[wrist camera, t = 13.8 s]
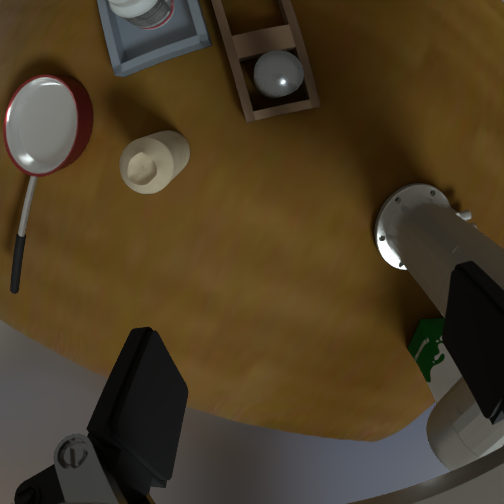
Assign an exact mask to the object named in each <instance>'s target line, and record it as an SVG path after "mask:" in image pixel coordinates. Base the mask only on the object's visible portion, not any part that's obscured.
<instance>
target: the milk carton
mask: <svg viewBox="0 0 504 504" xmlns="http://www.w3.org/2000/svg"><path fill="white" fill-rule="evenodd" d="M444 320H445V319H444V318H439V319H421V320H420V322H419V325H418V327H417V329H416V331H415V334H414V336H413V338H412V340H411V342H410V344H409V347H408V351H409V352H410V354H411V355H412V357H413V358H414V360H415V361H416V363H417V364H418V366H419V368H420V370H421V372H422V374H423V376H424V378H425V380H426V382H427V384H428V386H429V388H430V390H431V392H432V394H433V396H434V399H435V401H436V404H437V403H438V402H439V401H440V399H441V398H442V397H443V396H444V395H445V394H446V393H447V392H448V391H449V390H450V388H451V387H452V386H453V385H454V384H455V383H456V382H457V381H458V380H459V379H460V377H461V376H462V375H461V373H460V371H459V369H458V368H457V366H456V364H455V363H454V361H453V359H452V357H451V356H450V354H449V352H448V351H447V349H446V347H445V346H444V344H443V341H442V332H443V326H444Z"/></svg>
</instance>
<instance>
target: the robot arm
mask: <svg viewBox="0 0 504 504" xmlns="http://www.w3.org/2000/svg"><path fill="white" fill-rule="evenodd" d="M396 198H397V199H396ZM395 199H396V200H395ZM469 219H471V212H470V211H469V210H464V211H461V212H457V211H455V210H454V209H452V208H451V206H450V203H449V201H448V200H447V198H446V197H445V195H444V194H443V193H442V192H441V191H439V190H438V189H437V188H435V187H433V186H431V185H428V184H424V183H414V184H408V185H406V186H404V187H401V188H400V189H398V190H397V191H395V192H394V193H393V194H392V195H391V196H390V197H389V198H388V199H387V200H386V201H385V203H384V204H383V205H382V207H381V209H380V211H379V213H378V216H377V219H376V222H375V229H374V237H375V243H376V247H377V249H378V251H379V253H380V254H381V256H382V257H383V259H384V260H385V261H386V262H387V263H388V264H390V265H391V266H393V267H395V268H398V269H403V270H408V271H409V273H410V274H411V275H412V276H413V278H414V279H415V280H416V281H417V283H418V284H419V285H420V286H421V288H422V289H423V290H424V292H425V293H426V294H427V296H428V297H429V298H430V300H431V301H432V302H433V303H434V305H435V306H436V308H437V309H438V310H439V312H440V313H441V314H442V316H443V317H444V319H445V320H444V326H443V332H442V341H443V344H444V346H445V347H446V349H447V351H448V352H449V354H450V356H451V357H452V359H453V361H454V363H455V364H456V366H457V368H458V369H459V371H460V373H461V375H462V376H461V377H460V379H459V380H458V381H457V382H456V383H455V384H454V385H453V386H452V387H451V388H450V390H449V391H448V392H447V393H446V394H445V395H444V396H443V397H442V398H441V399H440V401H439V402H438V403H437V404H436V406H435V407H434V408H433V410H432V412H431V414H430V416H429V418H428V422H427V427H426V429H427V430H426V431H427V438H428V442H429V445H430V447H431V449H432V451H433V452H434V454H435V456H436V457H437V458H438V459H439V461H440V462H441V463H442V464H443V465H444V466H445V467H447V468H448V469H449V470H450V471H451V472H449V473H446V474H444V475H441V476H439V477H436V478H434V479H431V480H428V481H426V482H423V483H420V484H417V485H414V486H411V487H408V488H405V489H402V490H398V491H395V492H392V493H388V494H385V495H381V496H377V497H374V498H370V499H365V500H361V501H357V502H353V503H348V504H504V249H503V248H502V247H500V246H499V245H498V244H496V243H495V242H494V241H493V240H491V239H490V238H489V237H487V236H486V235H485V234H483V233H482V232H480V231H479V230H478V229H477V226H476V224H475V223H468V222H466V221H465V220H469ZM380 236H381V237H380ZM187 398H188V388H187V385H186V383H185V381H184V380H183V378H182V376H181V374H180V373H179V371H178V369H177V367H176V365H175V364H174V362H173V360H172V358H171V356H170V355H169V353H168V351H167V349H166V347H165V345H164V343H163V341H162V339H161V338H160V336H159V334H158V332H157V331H153V330H152V328H150V327H143V328H135V329H132V330H131V332H130V334H129V336H128V338H127V340H126V342H125V344H124V346H123V348H122V350H121V352H120V355H119V357H118V359H117V361H116V363H115V365H114V367H113V369H112V372H111V374H110V376H109V378H108V380H107V383H106V385H105V387H104V389H103V392H102V394H101V396H100V398H99V401H98V403H97V405H96V408H95V410H94V412H93V415H92V417H91V419H90V422H89V424H88V427H87V430H88V432H89V433H88V436H87V437H86V436H85V435H83V434H72V435H69V436H67V437H66V438H64V439H63V440H61V442H60V443H59V444H58V445H57V447H56V449H55V451H54V456H53V457H54V464H53V465H52V466H50V467H48V468H47V469H45V470H43V471H42V472H40V473H38V474H37V475H35V476H33V477H31V478H30V479H28V480H26V481H24V482H23V483H22V484H20V486H19V487H18V488H17V490H16V493H15V498H14V500H15V504H156V503H155V502H154V500H153V499H152V497H151V495H150V494H149V491H150V487H151V486H152V487H162V488H166V483H167V480H170V479H171V477H172V473H173V467H174V462H175V457H176V452H177V447H178V442H179V437H180V432H181V427H182V422H183V416H184V412H185V408H186V403H187ZM11 504H13V503H11Z"/></svg>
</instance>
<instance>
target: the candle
mask: <svg viewBox="0 0 504 504" xmlns="http://www.w3.org/2000/svg"><path fill="white" fill-rule="evenodd" d="M189 157H190V148H189V145H188V142H187V141H186V139H185V138H184V137H183V136H182V135H181V134H179V133H177V132H175V131H170V130H166V131H161V132H157V133H154V134H151V135H148V136H145V137H142V138H139V139H136V140H134V141H132V142H131V143H130V144H128V145H127V147H126V148H125V149H124V151H123V153H122V155H121V158H120V173H121V176H122V178H123V180H124V182H125V183H126V184H127V185H128V186H129V187H130V188H131V189H132V190H134V191H136V192H138V193H142V194H152V193H156V192H158V191H160V190H162V189H163V188H164V187H165V186H166V185H167V184H168V183H169V182H170V181H171V180H172V179H173V178H174V177H175V176H176V175H177V174H178V173H180V172H181V171H182V170H183V169H184V167H185V166H186V165H187V163H188V161H189Z"/></svg>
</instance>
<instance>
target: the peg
mask: <svg viewBox="0 0 504 504" xmlns="http://www.w3.org/2000/svg"><path fill="white" fill-rule="evenodd" d="M303 77H304V70H303V67H302V64H301V62H300V61H299V60H298V59H297V57H295V56H294V55H293V54H291V53H289V52H286V51H282V50H275V51H270V52H267V53H265V54H264V55H262V56H261V57H260V58H259V60H258V61H257V63H256V65H255V68H254V79H253V81H254V86H255V88H256V90H257V91H258V92H259V93H260V94H261V95H263V96H264V97H267V98H272V99H274V98H280V97H283V96H286V95H288V94H291V93H293V92H294V91H296V90H297V89H298V88H299V87H300V85H301V83H302V81H303Z"/></svg>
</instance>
